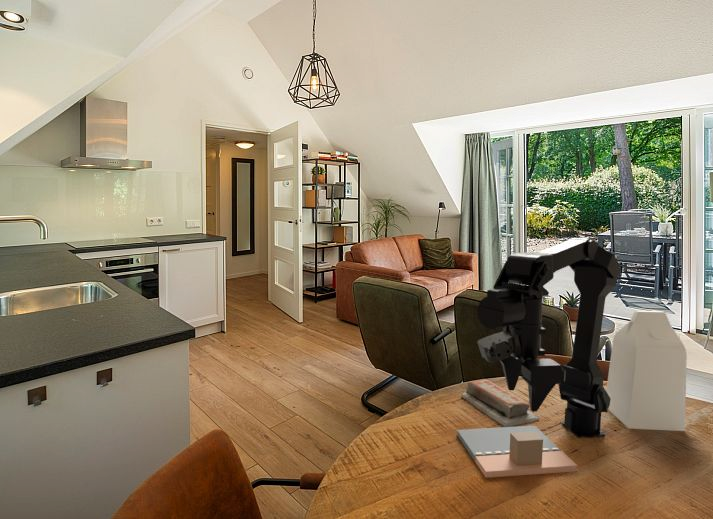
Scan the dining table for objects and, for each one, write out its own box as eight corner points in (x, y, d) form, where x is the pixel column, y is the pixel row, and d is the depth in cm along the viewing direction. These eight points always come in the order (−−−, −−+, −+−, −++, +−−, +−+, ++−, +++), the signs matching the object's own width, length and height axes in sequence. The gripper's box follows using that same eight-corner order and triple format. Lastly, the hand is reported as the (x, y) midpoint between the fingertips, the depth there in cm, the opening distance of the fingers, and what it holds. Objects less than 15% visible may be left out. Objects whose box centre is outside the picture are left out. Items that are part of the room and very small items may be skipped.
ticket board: (534, 430, 95) (534, 424, 95) (560, 455, 85) (560, 449, 85) (457, 435, 93) (457, 429, 93) (474, 461, 83) (474, 454, 83)
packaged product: (460, 380, 113) (490, 375, 116) (459, 398, 113) (490, 392, 117) (506, 409, 96) (540, 402, 100) (505, 429, 97) (539, 422, 100)
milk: (654, 407, 106) (662, 306, 104) (684, 431, 95) (694, 318, 92) (604, 405, 108) (610, 305, 105) (628, 428, 96) (636, 316, 94)
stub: (561, 456, 85) (562, 427, 84) (576, 471, 80) (578, 440, 79) (475, 462, 83) (476, 432, 82) (485, 477, 78) (486, 445, 77)
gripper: (466, 310, 88) (464, 382, 90) (504, 336, 70) (501, 426, 71) (517, 309, 89) (515, 380, 91) (569, 334, 70) (564, 423, 72)
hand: (521, 400), depth 81 cm, fingers open, 9 cm apart
